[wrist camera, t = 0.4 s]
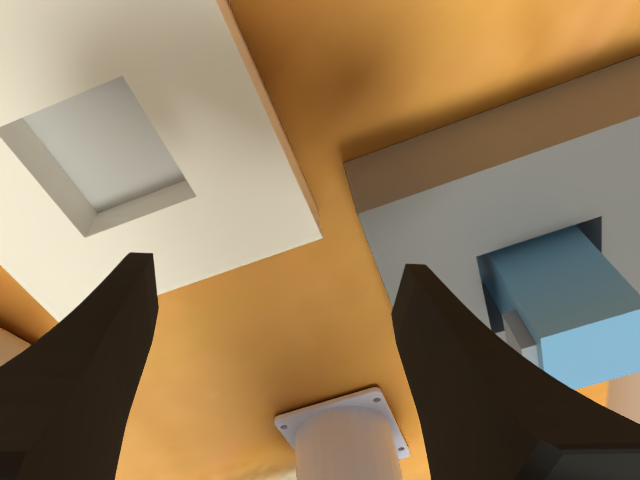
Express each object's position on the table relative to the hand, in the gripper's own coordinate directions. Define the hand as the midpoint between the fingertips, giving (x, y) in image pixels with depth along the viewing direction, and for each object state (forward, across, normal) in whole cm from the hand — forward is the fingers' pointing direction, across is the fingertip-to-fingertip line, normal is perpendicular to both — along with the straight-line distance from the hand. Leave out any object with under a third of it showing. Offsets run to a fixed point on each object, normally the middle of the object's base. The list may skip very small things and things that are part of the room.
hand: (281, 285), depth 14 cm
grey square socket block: (+10, -13, +4) cm, 17 cm away
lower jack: (+10, +7, 0) cm, 12 cm away
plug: (+9, -13, +4) cm, 16 cm away
